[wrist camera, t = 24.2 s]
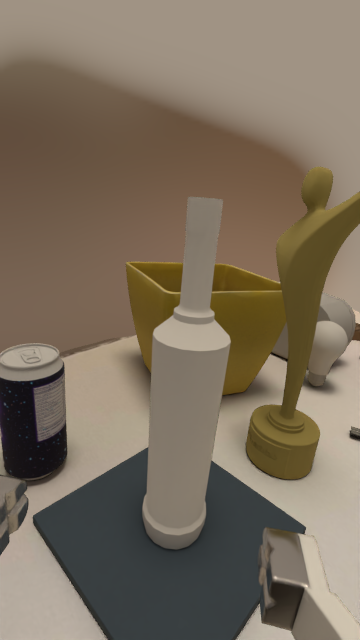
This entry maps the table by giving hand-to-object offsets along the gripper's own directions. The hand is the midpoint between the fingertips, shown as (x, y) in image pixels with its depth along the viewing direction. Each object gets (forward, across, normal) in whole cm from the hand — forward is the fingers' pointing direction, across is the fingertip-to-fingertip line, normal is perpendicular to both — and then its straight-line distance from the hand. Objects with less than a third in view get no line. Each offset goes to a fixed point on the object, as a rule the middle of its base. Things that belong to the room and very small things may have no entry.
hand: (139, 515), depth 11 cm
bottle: (+12, 0, +15) cm, 19 cm away
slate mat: (+12, 0, +15) cm, 20 cm away
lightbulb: (+42, -19, +15) cm, 48 cm away
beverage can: (+16, +14, +16) cm, 26 cm away
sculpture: (+23, -10, +15) cm, 30 cm away
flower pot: (+38, +1, +15) cm, 41 cm away
